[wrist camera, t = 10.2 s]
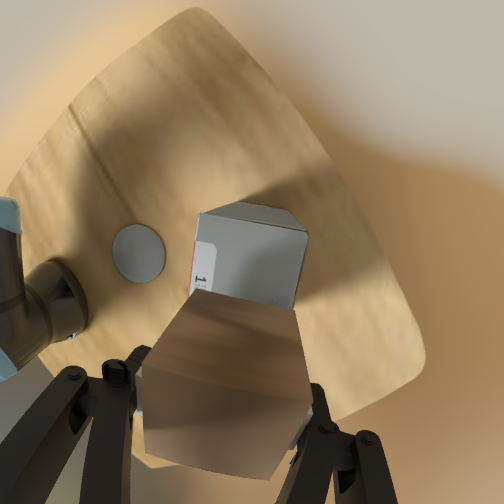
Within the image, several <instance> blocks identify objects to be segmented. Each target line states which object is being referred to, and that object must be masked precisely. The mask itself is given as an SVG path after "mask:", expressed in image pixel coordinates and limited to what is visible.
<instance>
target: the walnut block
mask: <svg viewBox="0 0 504 504" xmlns="http://www.w3.org/2000/svg"><path fill="white" fill-rule="evenodd" d="M312 403H313V396H312V391H311V386H310V381H309V376H308V371H307V366H306V361H305V356H304V351H303V347H302V342H301V337H300V332H299V328H298V323H297V319H296V314H295V310H291V309H286V308H281V307H276V306H272V305H267V304H262V303H258V302H253V301H249V300H244V299H240V298H236V297H231V296H227V295H223V294H219V293H215V292H211V291H207V290H202V289H198V288H196V289H195V290H194V291H193V293H192V294H191V295H190V297H189V298H188V299H187V301H186V302H185V303H184V305H183V306H182V308H181V309H180V310H179V312H178V313H177V314H176V316H175V317H174V319H173V320H172V321H171V323H170V324H169V325H168V327H167V328H166V330H165V331H164V332H163V334H162V335H161V336H160V338H159V339H158V341H157V342H156V343H155V345H154V346H153V348H152V349H151V350H150V352H149V353H148V355H147V356H146V357H145V359H144V360H143V362H142V412H143V431H144V444H145V453H147V454H150V455H153V456H156V457H159V458H162V459H165V460H168V461H172V462H175V463H179V464H182V465H186V466H190V467H194V468H198V469H202V470H206V471H211V472H216V473H221V474H226V475H232V476H238V477H244V478H251V479H259V480H270V478H271V477H272V475H273V474H274V472H275V470H276V469H277V467H278V466H279V464H280V462H281V461H282V459H283V457H284V455H285V453H286V452H287V450H288V449H289V447H290V445H291V443H292V442H293V440H294V438H295V436H296V434H297V432H298V431H299V429H300V427H301V425H302V423H303V421H304V419H305V417H306V415H307V413H308V411H309V409H310V407H311V405H312Z"/></svg>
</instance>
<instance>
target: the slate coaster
mask: <svg viewBox="0 0 504 504" xmlns="http://www.w3.org/2000/svg"><path fill="white" fill-rule="evenodd" d="M112 255H113V260H114V263H115V266H116V267H117V269H118V271H119V272H120V273H121V274H122V275H123V276H124V277H125V278H126V279H128V280H130V281H132V282H135V283H147V282H150V281H151V280H153V279H154V278H156V277H157V276H158V275H159V273H160V272H161V270H162V268H163V266H164V261H165V252H164V247H163V244H162V242H161V240H160V238H159V237H158V235H157V234H156V233H155V232H154V231H153V230H152V229H150V228H148V227H146V226H144V225H139V224H134V225H130V226H127V227H125V228H123V229H122V230H121V231H120V232H119V233H118V234H117V235H116V237H115V239H114V242H113V247H112Z"/></svg>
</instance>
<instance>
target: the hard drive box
mask: <svg viewBox="0 0 504 504" xmlns="http://www.w3.org/2000/svg"><path fill="white" fill-rule="evenodd" d="M308 242H309V234H308V230H307V229H306V228H305V227H304V226H303V225H302V224H301V223H300V222H299V221H298V220H297V219H296V218H295V217H294V216H293V215H291V214H290V212H288V210H285V209H280V208H274V207H269V206H263V205H257V204H251V203H245V202H234V203H231V204H228V205H225V206H222V207H219V208H216V209H213V210H211V211H208V212H205V213H199V214H198V223H197V230H196V237H195V243H194V251H193V259H192V267H191V275H190V285H189V296H188V298H189V297H190V295H191V294H192V293H193V291H194V290H195V289H196V288H198V289H202V290H207V291H211V292H215V293H219V294H223V295H227V296H231V297H236V298H240V299H244V300H249V301H253V302H258V303H262V304H267V305H272V306H276V307H281V308H286V309H291V310H293V308H294V304H295V300H296V296H297V292H298V288H299V284H300V280H301V276H302V272H303V267H304V262H305V258H306V253H307V248H308Z"/></svg>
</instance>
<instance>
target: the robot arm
mask: <svg viewBox="0 0 504 504" xmlns="http://www.w3.org/2000/svg"><path fill="white" fill-rule="evenodd" d="M21 234H22V230H21V221H20V207H19V204H18V203H17V202H16V201H15V200H14V199H12V198H7V197H0V381H4V380H6V379H7V378H9V377H10V376H12V375H13V374H16V373H17V372H18V371H19V370H20V369H21V368H22V367H24V366H25V365H26V364H27V363H28V362H29V361H31V360H32V359H33V358H34V357H35V356H36V355H38V354H39V353H40V352H41V351H42V350H44V349H45V348H46V347H47V346H49V345H50V344H52V343H57V342H61V341H65V340H69V339H72V338H74V337H76V336H77V335H78V334H79V333H81V332H82V331H83V329H84V328H85V326H86V323H87V319H88V308H87V302H86V298H85V295H84V292H83V290H82V288H81V286H80V284H79V282H78V280H77V279H76V277H75V276H74V275H73V274H72V272H71V271H70V270H69V269H68V268H67V267H65V266H64V265H62V264H61V263H59V262H56V261H47V262H44V263H42V264H39V265H37V266H36V267H35V268H34V269H33V270H32V271H31V272H30V273H29V274H28V275H27V276H26V277H25V279H24V275H23V264H22V249H21ZM151 349H152V348H151V347H148V346H145V345H141V346H139V347H137V348H135V349H134V350H133V352H132V353H131V355H129V357H128V358H127V359H126V360H125V361H122V360H119V359H111V360H107V361H105V362H104V363H103V364H102V375H103V378H95V377H89V376H87V372H86V371H85V370H84V369H83V368H81V367H79V366H68V367H65V368H64V369H63V370H62V371H61V372H60V373H59V374H58V375H57V376H56V377H55V379H54V380H53V381H52V382H51V383H50V384H49V385H48V386H47V388H46V389H45V390H44V391H43V392H42V393H41V395H40V396H39V397H38V398H37V399H36V400H35V402H34V403H33V404H32V405H31V407H30V408H29V409H28V410H27V411H26V412H25V414H24V415H23V416H22V417H21V419H20V420H19V421H18V422H17V423H16V425H15V426H14V427H13V428H12V430H11V431H10V433H9V434H8V435H7V436H6V437H5V439H4V440H3V441H2V443H1V444H0V504H45V502H46V500H47V498H48V496H49V494H50V492H51V490H52V489H53V487H54V485H55V483H56V481H57V479H58V477H59V475H60V473H61V472H62V470H63V468H64V466H65V464H66V463H67V461H68V459H69V457H70V455H71V454H72V452H73V450H74V448H75V447H76V445H77V443H78V441H79V440H80V438H81V436H82V434H83V433H84V431H85V429H86V428H87V426H88V424H89V422H90V421H91V419H92V418H93V421H92V426H91V431H90V436H89V441H88V446H87V451H86V457H85V463H84V469H83V476H82V483H81V492H80V502H79V504H130V470H131V447H132V432H133V414H134V412H135V410H136V409H137V415H138V416H141V417H143V412H142V362H143V360H144V359H145V357H146V356H147V355H148V353H149V352H150V350H151ZM310 386H311V391H312V396H313V403H312V405H311V407H310V409H309V411H308V413H307V415H306V417H305V419H304V421H303V423H302V425H301V427H300V429H299V431H298V432H297V434H296V436H295V438H294V440H293V442H292V443H291V445H290V447H289V449H288V450H293V449H294V448H295V446H296V444H297V450H298V451H297V452H296V454H295V456H294V457H293V459H292V461H291V462H290V464H291V466H290V469H289V471H288V474H287V477H286V479H285V482H284V484H283V487H282V489H281V491H280V494H279V496H278V498H277V501H276V503H275V504H325V500H326V496H327V493H328V489H329V484H330V480H331V475H332V471H333V480H334V492H335V504H398V502H397V498H396V494H395V490H394V486H393V482H392V479H391V475H390V472H389V468H388V465H387V461H386V457H385V454H384V451H383V447H382V444H381V441H380V439H379V437H378V435H377V434H375V433H374V432H371V431H368V430H361V431H359V432H358V433H357V434H356V435H352V434H348V433H345V432H342V431H340V430H339V427H338V425H337V424H336V423H334V422H333V421H331V417H330V413H329V409H328V405H327V401H326V398H325V393H324V390H323V388H322V387H321V386H320V385H319V384H317V383H310Z"/></svg>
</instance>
